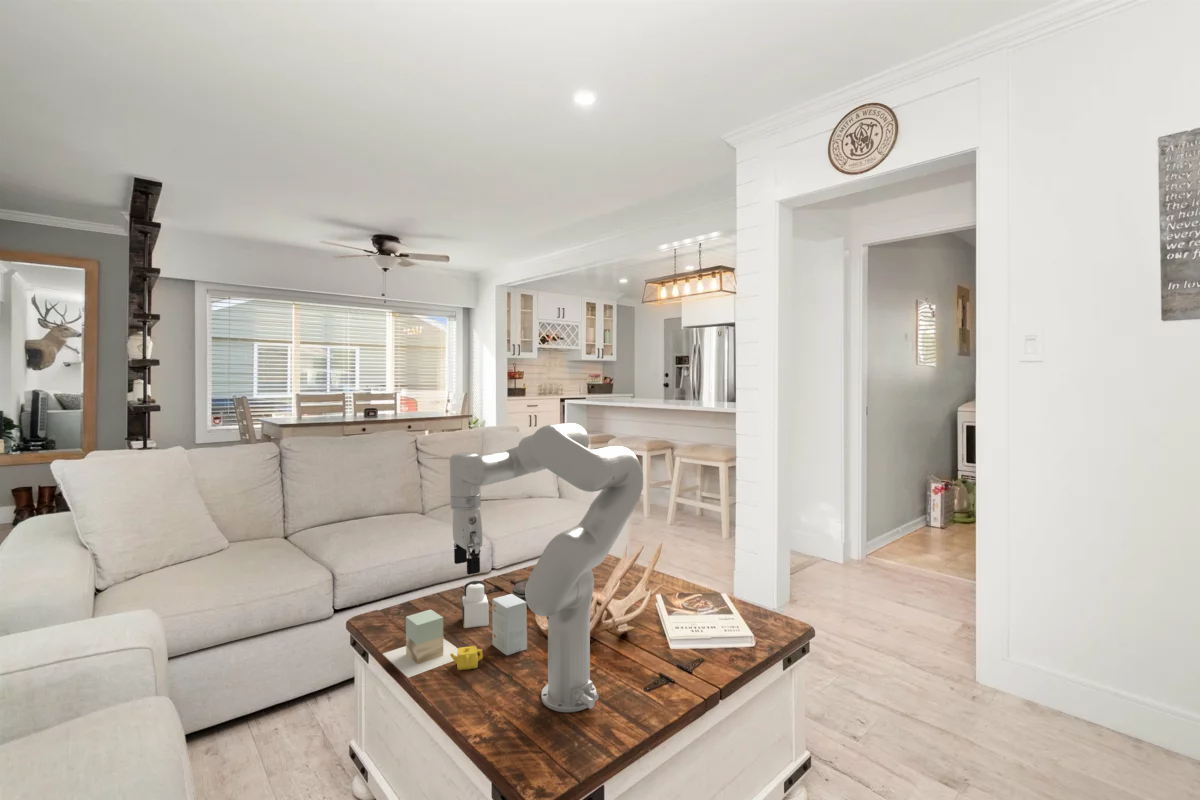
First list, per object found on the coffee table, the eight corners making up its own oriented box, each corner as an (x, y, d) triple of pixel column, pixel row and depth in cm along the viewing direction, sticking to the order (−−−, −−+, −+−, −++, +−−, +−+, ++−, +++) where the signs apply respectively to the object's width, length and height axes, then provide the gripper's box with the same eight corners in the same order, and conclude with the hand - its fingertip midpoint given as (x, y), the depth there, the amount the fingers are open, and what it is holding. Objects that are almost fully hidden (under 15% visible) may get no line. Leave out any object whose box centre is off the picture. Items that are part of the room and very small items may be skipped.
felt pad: (467, 657, 145) (467, 655, 145) (408, 679, 135) (408, 677, 134) (439, 636, 157) (439, 634, 157) (382, 655, 146) (382, 653, 146)
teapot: (450, 676, 136) (449, 656, 136) (450, 665, 141) (450, 645, 141) (483, 672, 138) (483, 652, 138) (482, 661, 143) (482, 641, 143)
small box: (527, 649, 149) (527, 601, 149) (506, 657, 145) (506, 608, 145) (512, 638, 156) (511, 592, 155) (491, 645, 152) (491, 598, 151)
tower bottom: (443, 655, 146) (443, 636, 145) (417, 664, 141) (417, 644, 141) (431, 645, 151) (431, 627, 151) (406, 654, 146) (406, 635, 146)
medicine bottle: (462, 619, 168) (461, 580, 168) (486, 616, 170) (485, 577, 170) (463, 629, 161) (463, 588, 161) (488, 626, 164) (488, 585, 163)
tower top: (443, 636, 145) (443, 617, 145) (417, 644, 141) (417, 625, 140) (431, 627, 151) (431, 609, 150) (406, 635, 146) (405, 616, 146)
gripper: (492, 505, 137) (493, 574, 137) (468, 494, 151) (469, 556, 152) (462, 509, 133) (463, 580, 133) (441, 497, 147) (442, 561, 148)
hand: (466, 567), depth 143 cm, fingers open, 9 cm apart
